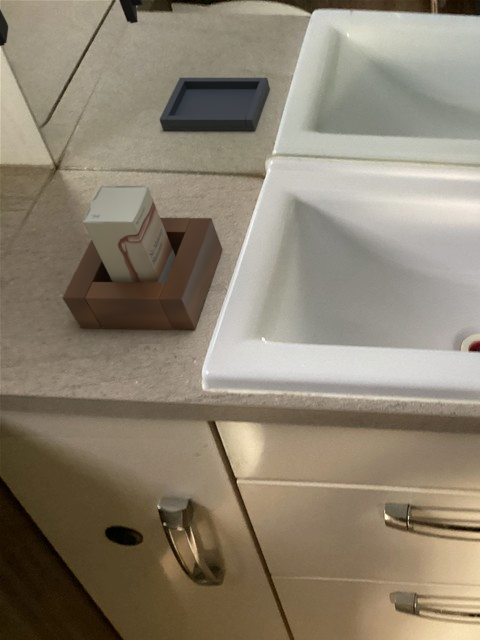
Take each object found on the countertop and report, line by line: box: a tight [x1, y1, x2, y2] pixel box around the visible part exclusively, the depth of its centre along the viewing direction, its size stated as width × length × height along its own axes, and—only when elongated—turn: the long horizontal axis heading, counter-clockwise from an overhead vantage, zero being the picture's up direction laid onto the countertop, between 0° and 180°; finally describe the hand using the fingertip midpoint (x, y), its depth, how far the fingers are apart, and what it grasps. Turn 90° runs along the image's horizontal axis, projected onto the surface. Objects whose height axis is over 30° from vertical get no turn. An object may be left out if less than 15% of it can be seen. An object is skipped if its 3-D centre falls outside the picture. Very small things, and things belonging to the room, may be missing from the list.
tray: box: [159, 77, 271, 132], centre depth 92 cm, size 11×9×2 cm
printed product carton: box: [82, 184, 176, 283], centre depth 70 cm, size 5×4×10 cm
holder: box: [62, 217, 223, 331], centre depth 73 cm, size 10×10×4 cm
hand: (68, 25), depth 61 cm, fingers open, 9 cm apart
